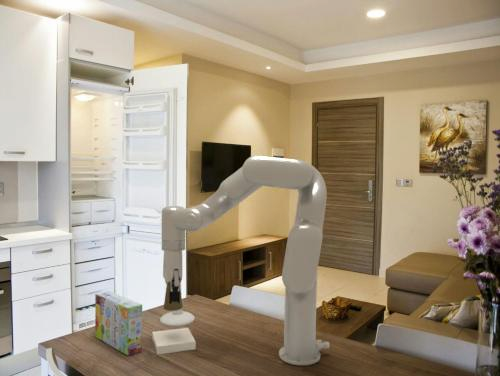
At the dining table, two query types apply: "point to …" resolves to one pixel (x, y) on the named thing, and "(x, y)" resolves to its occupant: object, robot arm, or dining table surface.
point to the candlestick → (177, 317)
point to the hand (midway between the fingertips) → (173, 300)
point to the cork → (173, 305)
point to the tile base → (173, 340)
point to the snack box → (118, 322)
